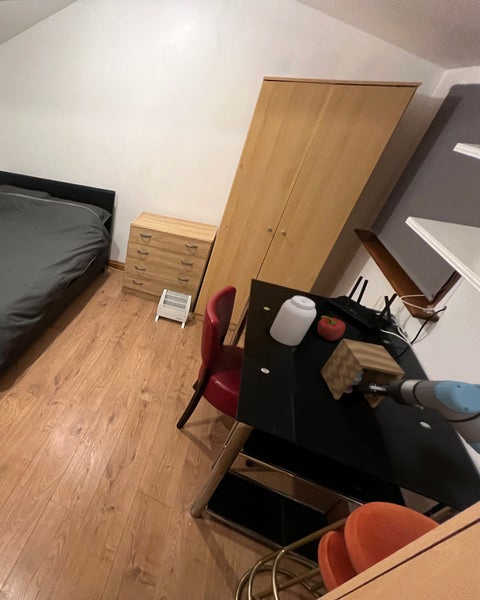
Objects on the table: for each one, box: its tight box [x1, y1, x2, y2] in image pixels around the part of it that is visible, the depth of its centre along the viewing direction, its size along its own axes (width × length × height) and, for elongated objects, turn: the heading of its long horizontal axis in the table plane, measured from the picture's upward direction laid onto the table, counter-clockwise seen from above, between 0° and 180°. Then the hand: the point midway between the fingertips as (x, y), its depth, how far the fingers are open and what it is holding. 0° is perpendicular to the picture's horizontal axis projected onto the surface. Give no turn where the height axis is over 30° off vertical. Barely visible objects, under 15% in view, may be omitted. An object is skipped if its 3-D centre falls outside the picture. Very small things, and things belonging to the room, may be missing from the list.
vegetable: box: [317, 315, 346, 342], centre depth 145 cm, size 11×10×10 cm
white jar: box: [269, 295, 317, 347], centre depth 139 cm, size 12×12×20 cm
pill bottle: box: [344, 369, 364, 394], centre depth 118 cm, size 5×5×10 cm
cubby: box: [320, 338, 406, 409], centre depth 116 cm, size 14×13×17 cm
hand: (354, 388), depth 115 cm, fingers closed
